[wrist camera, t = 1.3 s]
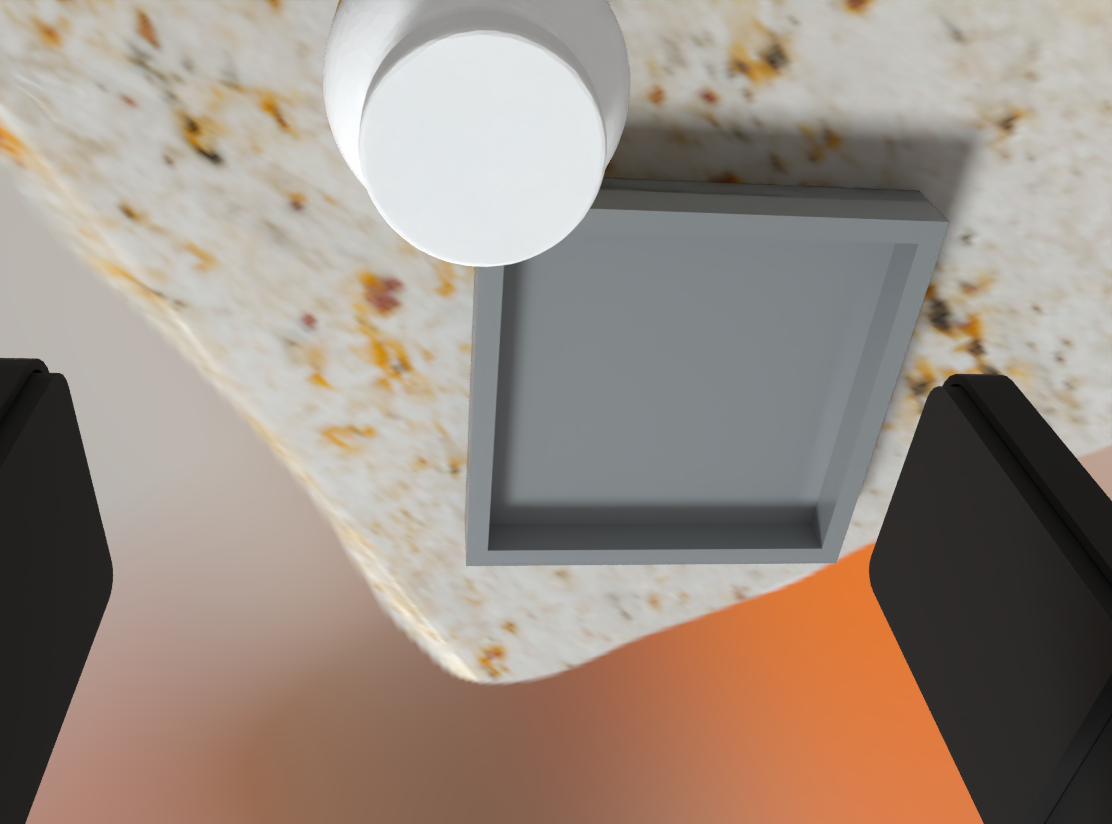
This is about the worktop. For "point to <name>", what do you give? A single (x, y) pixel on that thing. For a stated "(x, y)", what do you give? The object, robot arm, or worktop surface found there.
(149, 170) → the worktop surface
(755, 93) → the worktop surface
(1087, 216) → the worktop surface
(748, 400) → the charcoal tray
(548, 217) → the supplement bottle
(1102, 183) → the worktop surface
